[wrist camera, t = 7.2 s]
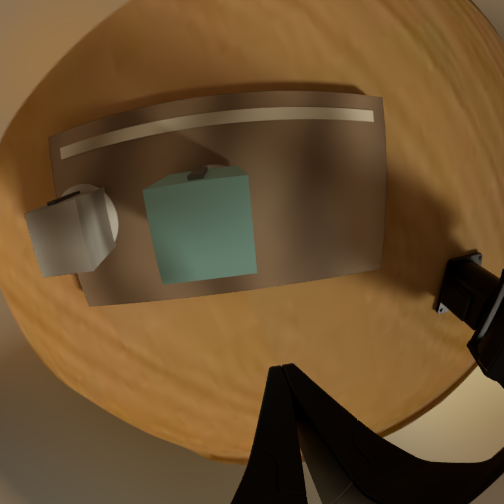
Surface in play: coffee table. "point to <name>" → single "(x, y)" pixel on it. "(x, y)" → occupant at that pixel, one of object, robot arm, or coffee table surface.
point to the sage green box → (202, 224)
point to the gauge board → (214, 156)
